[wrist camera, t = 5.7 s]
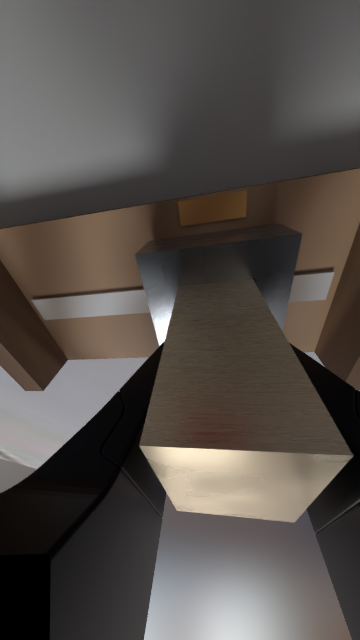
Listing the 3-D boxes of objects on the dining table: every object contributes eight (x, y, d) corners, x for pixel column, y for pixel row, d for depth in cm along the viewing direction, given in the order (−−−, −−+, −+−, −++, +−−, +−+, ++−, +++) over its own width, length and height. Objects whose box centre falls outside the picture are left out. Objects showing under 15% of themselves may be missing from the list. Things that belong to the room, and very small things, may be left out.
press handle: (278, 223, 8) (653, 383, 1) (262, 342, 12) (341, 540, 5) (148, 240, 9) (-4, 387, 2) (172, 346, 13) (139, 518, 6)
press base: (392, 162, 8) (546, 139, 5) (326, 336, 14) (372, 389, 10) (-15, 231, 12) (-114, 249, 8) (62, 348, 17) (25, 390, 14)
